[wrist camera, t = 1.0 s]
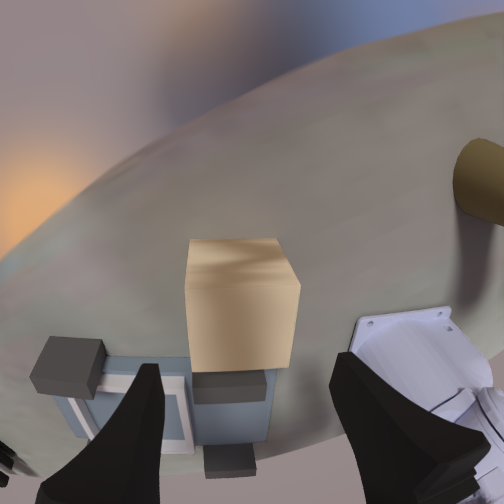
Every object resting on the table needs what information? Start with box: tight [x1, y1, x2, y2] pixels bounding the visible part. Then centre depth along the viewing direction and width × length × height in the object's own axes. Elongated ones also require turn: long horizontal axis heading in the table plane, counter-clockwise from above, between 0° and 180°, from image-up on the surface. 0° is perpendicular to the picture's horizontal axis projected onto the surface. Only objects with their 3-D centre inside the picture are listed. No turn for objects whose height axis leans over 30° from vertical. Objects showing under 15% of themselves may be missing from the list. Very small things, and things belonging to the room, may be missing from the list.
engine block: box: [185, 239, 301, 372], centre depth 17 cm, size 5×5×6 cm
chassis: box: [29, 336, 277, 479], centre depth 21 cm, size 18×13×4 cm
